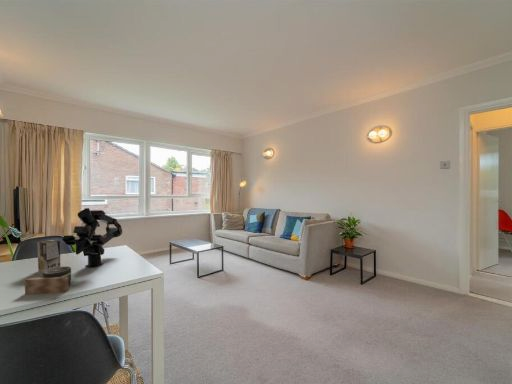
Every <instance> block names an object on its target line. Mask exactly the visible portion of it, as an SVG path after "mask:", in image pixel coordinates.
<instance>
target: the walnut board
mask: <svg viewBox="0 0 512 384" xmlns="http://www.w3.org/2000/svg"><path fill="white" fill-rule="evenodd" d="M69 285H70V284H69V281H68V277H43V276H42V277H28V278H25V279H24V294H25V295H31V294H32V295H35V294H50V293H51V294H53V293H55V294H56V293H66V292H68V291H69V289H70V287H69Z"/></svg>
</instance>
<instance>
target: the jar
mask: <svg viewBox="0 0 512 384" xmlns="http://www.w3.org/2000/svg"><path fill="white" fill-rule="evenodd" d="M43 277H68V281H69V285H71V282H72V267H70V266H60V267H56V268H52V269H48V270H46V271H44V272H42V278H43Z"/></svg>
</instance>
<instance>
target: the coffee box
mask: <svg viewBox="0 0 512 384" xmlns="http://www.w3.org/2000/svg"><path fill="white" fill-rule="evenodd" d="M37 262H38V263H37V265H38V266H37V270H38V272H39V273H43V272H44V271H46V270H48V269H52V268H56V267H61V241H60V240H57V239H47V240H42V241H37Z"/></svg>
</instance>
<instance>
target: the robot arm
mask: <svg viewBox="0 0 512 384" xmlns="http://www.w3.org/2000/svg"><path fill="white" fill-rule="evenodd" d="M77 217H78V218H79V219H80V221H81V222H82V224H84V226H81V225H79V226H77V225H76V226H74V228H73V231H72V232H73V234H76V236H74V235H73V234H72V235H71V234H70V235H67V234H66V235H63V237H62V238H61V239H62V241H63V242H64V243H65V244H66V245H67V246H75V255H80V254H81V253H82V254H83V256H84V257H87V264H85V265H84V266H85V267H88V268H96V267H98V266H102V265H104V263H103V262H102V255H104V254H105V248H104V247H103V246H104V245H105V244H107V243H108V242H109V241H111V240H112V239H114V238H118V237H121V235H122V234H123V228H122V226H121V224H120V223H119V222H118V219H117V218H114V217H112V216H109V215H107V214H106V212H105V211H104V210H103V209H97V210H95V209H93V210H90V208H88V207H86V208H85V207H84V209H82V210H80V211H79V212H77ZM99 222H102V223H104V224H106V226H105V232H106V233H105V234H103V235H102V234H96V229H97V228H98V227H99V228H100V225H101V224H100V223H99ZM110 225H114V227H110Z"/></svg>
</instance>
